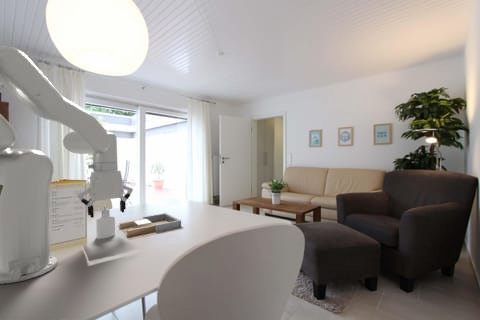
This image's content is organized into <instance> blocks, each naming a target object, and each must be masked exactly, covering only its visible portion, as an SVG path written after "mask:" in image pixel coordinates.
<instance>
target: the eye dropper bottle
mask: <svg viewBox="0 0 480 320" xmlns="http://www.w3.org/2000/svg"><path fill="white" fill-rule="evenodd" d="M115 222H116V221H115V216H114V215H110V209H109V208H108V206H107V205H104V206H103V209H101V216H99V217H98V218H97V219H96V222H95V223H96V226H95V227H96V229H95V231H96V235H95V236H96V239H97V240H102V239H107V238H108V239H109V238H110V237H114V236H115V235H116V223H115Z"/></svg>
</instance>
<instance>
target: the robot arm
mask: <svg viewBox="0 0 480 320" xmlns="http://www.w3.org/2000/svg"><path fill="white" fill-rule="evenodd" d="M0 86H4V87H5V88H6V89H7V90H8V91H9V92H11V94H13V95H14V96H15V97H16V99H18V101H20V102H21V103H22V104H23V105H24V106H25V107H26V108H27V109H28V110H29V111H31V113H33V114H34V115H35V116H37V117H40V118H42V119H44V120H45V119H46V120H47V121H52V122H55V123H58V124H60V125H63V126H65V127H67V128H69V129H71V130H72V131H70V132H68V133H67V134H66V135H65V136H64V137H63V140H62V144H63V146H64V148H65V149H66V150H67V151H68V152H70V153H73V154H78V155H79V154H80V155H82V154H83V155H85V154H92V164H88V166H87V168H88V169H90V170H92V171H91V173H90V178H89V179H90V180H89V188H87V189H85V190H83V191H81V192H79V193H78V194H76V196H77V197H78V198H79V200H80V202H81V203H83V204H84V205H86V206H87V216H90V218H91V219H93V218H95V217H94V215H95V213H94V205H93V204H94V203H95V202H96V201H104V200H105V201H106V200H114V199H120V201H119V209H120V210H119V211H120V212H121V213H124V212H125V210H126V209H127V208H126V207H127V206H126V202H127V200H128V199H129V198H130V196H131V194H132V192H133V191H134V189H133V187H129V186H127V185H124V183H123V177H122V172H121V169H118V167H119V166H118V164H119V163H118V143H117V142H118V141H117V140H118V139H117V135H116V134H115V133H113V132H107V130H106V129H105V128H104V126H103V125H102V124H101V123H100V122H99V121H98V119H97V118H96V117H94V116H93V115H92V114H91V113H89V112H88V111H86V110H85V109H83V108H82V107H80V106H79V105H77V104H75V103H74V102H72V101H71V100H69V99H67V98H66V97H65V96H63V95H62V94H61V93H60V92H59V91H58V89H57V88H56V87H55V86H54V85H53V84H52V82H50V80H49V79H48V78H47V77H46V76H45V74H44V73H43V72H42V71H41V70H40V69H39V68H38V67H37V66H36V64H35V63H34V62H33V61H32V60H31V58H29V57H28V55H27V54H25V53H24V52H23V51H21V50H20V49H18V48H17V47H13V46H9V45H0ZM17 137H18V136H17V132H16V130H15V128H14V127H13V126H12V124H11V123H10V122H9V121H8V120H7V119H6V117H4V116H3V115H2V114H1V113H0V186H2V188H1V191H0V285H3V284H5V283H6V284H13V283H19V282H23V281H28V280H30V279H33V278H36V277H39V276H41V275H44V274H46V273H48V272H50V271H52V270H53V269H54V268H56V267H57V265H58V262H59V261H58V258H57V257H56V256H52V255H51V219H50V217H51V215H50V214H51V212H50V209H51V208H50V194H51V183H52V181H53V175H54V164H53V162H52V159H51V158H50V157H49V156H48V154H46V153H44V152H42V151H40V150H37V149H33V148H11V147H12V146H14V144H15V143H16V141H17V139H18V138H17ZM125 191H127V192H126V193H124V192H125ZM88 194H89V196H90V198H89V200H87V199H86V198H85V197H84V196H86V195H88Z"/></svg>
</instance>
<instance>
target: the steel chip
mask: <svg viewBox="0 0 480 320" xmlns="http://www.w3.org/2000/svg"><path fill="white" fill-rule="evenodd" d="M137 220H138V221H134V220H133V221H134V228H140V227H145V226H151V225H152V222H150V221H149V220H147V219H144V220H140V219H137Z"/></svg>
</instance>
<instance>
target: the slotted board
mask: <svg viewBox="0 0 480 320" xmlns="http://www.w3.org/2000/svg"><path fill="white" fill-rule="evenodd" d="M138 220H144V219H143V218H140V219H135V220H128V221H123V222H119V225H117V227H118V228H119V229H120V230H121V232H123V233H124V234H125V236H127V238H128V239H129V240H134V239H138V238H139V239H140V238H145V237H148V236H149V237H150V236H152V235H153V236H154V235H157V234H163V233H166V232H171V231H176V230H180V229H184V228H185V227H183V226H182V225H181V227H177V228H173V229H168V230H163V231H159V232H155V225H157V224H162V223H168V222H169V221H167V220H165V219H164V220H158V221H153V222H152V225H151V226H145V227H140V228H134V221H138Z"/></svg>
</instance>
